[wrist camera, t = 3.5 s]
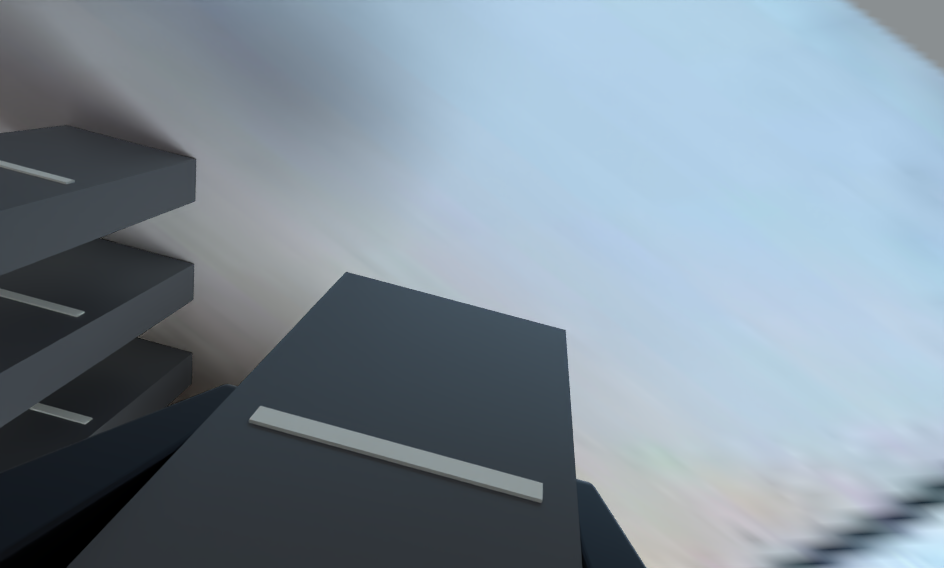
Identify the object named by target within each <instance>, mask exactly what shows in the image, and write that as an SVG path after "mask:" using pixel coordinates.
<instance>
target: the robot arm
mask: <svg viewBox="0 0 944 568" xmlns="http://www.w3.org/2000/svg"><path fill="white" fill-rule="evenodd" d="M237 387H238V386H234V385H230V384H225V385H221V386H219V387H216V388H213V389H211V390H208V391H206V392H203V393H201V394H198V395H196V396H193V397H191V398H188V399H185V400H183V401H180V402H178V403H175V404H173V405H170V406H168V407H165V408H163V409H160V410H158V411H155V412H152V413H150V414H147V415H145V416H142V417H140V418H137V419H135V420H132V421H130V422H127V423H125V424H122V425H119V426H117V427H114V428H112V429H109V430H107V431H104V432H102V433H99V434H97V435H94V436H91V437H89V438H86V439H84V440H81V441H79V442H76V443H74V444H71V445H69V446H66V447H64V448H61V449H58V450H56V451H53V452H51V453H48V454H46V455H43V456H41V457H38V458H36V459H33V460H30V461H28V462H25V463H23V464H20V465H18V466H15V467H13V468H10V469H8V470H5V471H3V472H0V568H67V567H68V565H69V564H70V563H71V562H72V561H73V560H74V559H75V558H76V557H77V556H78V555H79V554H80V553H81V552H82V551H83V550H84V549H85V547H86V546H87V545H88V544H89V543H90V542H91V541H92V540H93V539H94V538H95V537H96V536H97V535H98V534H99V533H100V532H101V531H102V530H103V528H104V527H105V526H106V525H107V524H108V523H109V522H110V521H111V520H112V519H113V518H114V517H115V516H116V515H117V514H118V513H119V512H120V510H121V509H122V508H123V507H124V506H125V505H126V504H127V503H128V502H129V501H130V500H131V499H132V498H133V497H134V496H135V495H136V494H137V493H138V491H139V490H140V489H141V488H142V487H143V486H144V485H145V484H146V483H147V482H148V481H149V480H150V479H151V478H152V477H153V476H154V475H155V473H156V472H157V471H158V470H159V469H160V468H161V467H162V466H163V465H164V464H165V463H166V462H167V461H168V460H169V459H170V458H171V457H172V455H173V454H174V453H175V452H176V451H177V450H178V449H179V448H180V447H181V446H182V445H183V444H184V443H185V442H186V441H187V440H188V439H189V438H190V436H191V435H192V434H193V433H194V432H195V431H196V430H197V429H198V428H199V427H200V426H201V425H202V424H203V423H204V422H205V421H206V420H207V418H208V417H209V416H210V415H211V414H212V413H213V412H214V411H215V410H216V409H217V408H218V407H219V406H220V405H221V404H222V403H223V402H224V400H225V399H226V398H227V397H228V396H229V395H230V394H231V393H232V392H233V391H234V390H235V389H236V388H237ZM576 485H577V499H578V513H579V527H580V541H581V555H582V568H646V566H645V565H644V563H643V562H642V560H641V559H640V557H639V556H638V554H637V552H636V551H635V549H634V548H633V546H632V545H631V543H630V541H629V540H628V538H627V537H626V535H625V534H624V532H623V530H622V529H621V527H620V526H619V524H618V523H617V521H616V520H615V518H614V516H613V515H612V513H611V512H610V510H609V509H608V507H607V505H606V504H605V502H604V501H603V499H602V498H601V496H600V494H599V493H598V491H597V490H596V488H595V487H594V486H593V485H592V484H591V483H589V482H586V481H582V480H579V479H576Z"/></svg>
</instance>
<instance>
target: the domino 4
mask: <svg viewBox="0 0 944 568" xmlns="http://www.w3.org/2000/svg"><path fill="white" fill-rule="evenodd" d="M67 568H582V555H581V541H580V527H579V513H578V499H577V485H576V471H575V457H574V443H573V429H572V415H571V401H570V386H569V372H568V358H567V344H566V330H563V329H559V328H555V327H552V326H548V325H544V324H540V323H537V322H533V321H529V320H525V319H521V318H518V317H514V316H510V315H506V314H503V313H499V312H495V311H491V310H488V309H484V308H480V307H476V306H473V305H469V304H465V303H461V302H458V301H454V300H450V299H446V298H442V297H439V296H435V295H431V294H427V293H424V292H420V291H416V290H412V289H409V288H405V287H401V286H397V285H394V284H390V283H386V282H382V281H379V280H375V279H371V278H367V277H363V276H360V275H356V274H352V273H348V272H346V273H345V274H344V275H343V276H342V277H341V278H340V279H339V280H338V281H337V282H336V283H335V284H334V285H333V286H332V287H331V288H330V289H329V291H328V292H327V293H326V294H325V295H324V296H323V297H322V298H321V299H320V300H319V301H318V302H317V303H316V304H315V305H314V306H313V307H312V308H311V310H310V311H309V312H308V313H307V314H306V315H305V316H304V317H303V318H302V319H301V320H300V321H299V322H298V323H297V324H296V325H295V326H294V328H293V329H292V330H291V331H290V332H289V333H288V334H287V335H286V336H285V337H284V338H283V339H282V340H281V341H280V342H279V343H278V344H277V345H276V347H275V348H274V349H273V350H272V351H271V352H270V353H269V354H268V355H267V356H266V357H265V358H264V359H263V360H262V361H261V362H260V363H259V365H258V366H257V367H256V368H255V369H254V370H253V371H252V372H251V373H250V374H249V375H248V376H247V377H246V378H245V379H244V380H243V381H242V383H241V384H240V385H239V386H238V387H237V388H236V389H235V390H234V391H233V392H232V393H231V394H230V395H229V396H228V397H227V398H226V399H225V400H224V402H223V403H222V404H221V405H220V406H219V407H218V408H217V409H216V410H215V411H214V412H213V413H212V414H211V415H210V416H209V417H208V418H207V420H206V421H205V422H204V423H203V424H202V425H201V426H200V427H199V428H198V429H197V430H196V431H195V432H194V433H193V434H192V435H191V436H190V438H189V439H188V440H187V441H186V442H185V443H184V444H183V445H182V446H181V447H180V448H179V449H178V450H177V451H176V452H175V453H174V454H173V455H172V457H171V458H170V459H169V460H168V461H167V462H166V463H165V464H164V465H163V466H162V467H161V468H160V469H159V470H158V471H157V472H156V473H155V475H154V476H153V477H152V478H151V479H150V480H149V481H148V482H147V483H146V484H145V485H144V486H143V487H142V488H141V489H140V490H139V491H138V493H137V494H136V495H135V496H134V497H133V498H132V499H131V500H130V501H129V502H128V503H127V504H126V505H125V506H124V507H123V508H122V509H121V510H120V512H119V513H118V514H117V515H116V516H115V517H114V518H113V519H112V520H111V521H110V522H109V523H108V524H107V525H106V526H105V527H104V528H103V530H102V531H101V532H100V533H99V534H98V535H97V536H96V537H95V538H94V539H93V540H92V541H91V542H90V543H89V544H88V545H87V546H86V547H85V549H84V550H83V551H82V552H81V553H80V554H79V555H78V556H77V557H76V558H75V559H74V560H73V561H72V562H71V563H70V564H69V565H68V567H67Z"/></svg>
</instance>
